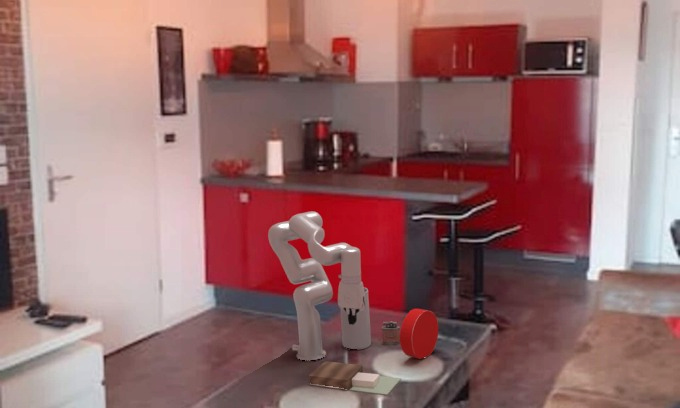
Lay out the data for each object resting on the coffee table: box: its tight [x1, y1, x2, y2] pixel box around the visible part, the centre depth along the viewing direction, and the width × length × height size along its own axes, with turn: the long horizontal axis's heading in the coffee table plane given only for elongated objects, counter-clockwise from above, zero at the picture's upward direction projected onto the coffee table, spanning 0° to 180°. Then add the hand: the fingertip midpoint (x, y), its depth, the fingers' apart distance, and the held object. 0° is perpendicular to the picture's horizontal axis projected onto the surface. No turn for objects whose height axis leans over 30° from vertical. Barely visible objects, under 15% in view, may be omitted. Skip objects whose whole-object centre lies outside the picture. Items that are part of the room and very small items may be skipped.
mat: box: [349, 375, 402, 396], centre depth 281 cm, size 15×15×1 cm
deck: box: [308, 360, 364, 391], centre depth 288 cm, size 16×15×4 cm
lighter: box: [381, 320, 401, 346], centre depth 323 cm, size 8×3×10 cm, turn 84°
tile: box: [351, 372, 381, 388], centre depth 282 cm, size 9×7×2 cm
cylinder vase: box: [339, 287, 372, 351], centre depth 322 cm, size 12×12×25 cm
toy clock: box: [399, 308, 439, 360], centre depth 305 cm, size 20×6×20 cm, turn 141°
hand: (352, 323), depth 289 cm, fingers closed
